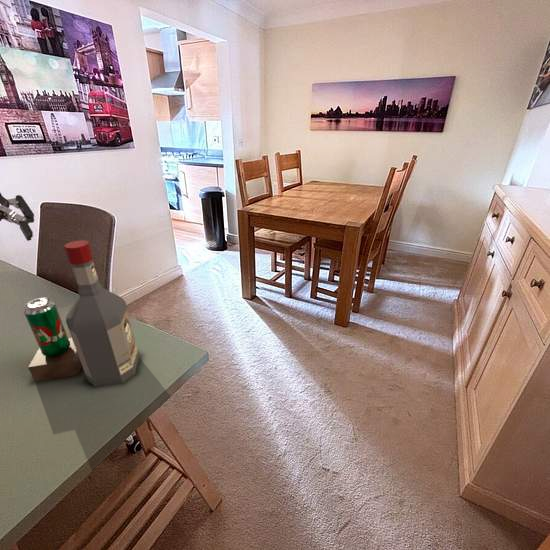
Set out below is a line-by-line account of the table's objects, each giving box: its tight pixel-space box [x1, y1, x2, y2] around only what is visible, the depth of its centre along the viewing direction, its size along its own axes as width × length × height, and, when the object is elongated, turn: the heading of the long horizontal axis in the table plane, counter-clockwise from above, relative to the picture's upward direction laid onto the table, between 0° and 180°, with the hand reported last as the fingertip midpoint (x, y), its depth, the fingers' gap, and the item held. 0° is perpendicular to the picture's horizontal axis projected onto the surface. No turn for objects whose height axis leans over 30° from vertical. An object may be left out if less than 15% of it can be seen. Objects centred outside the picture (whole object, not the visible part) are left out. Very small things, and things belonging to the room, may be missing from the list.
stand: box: [27, 337, 83, 383], centre depth 66 cm, size 8×8×5 cm
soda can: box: [23, 297, 70, 357], centre depth 62 cm, size 5×5×12 cm
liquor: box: [63, 239, 140, 387], centre depth 59 cm, size 9×9×30 cm
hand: (5, 244), depth 63 cm, fingers open, 8 cm apart
